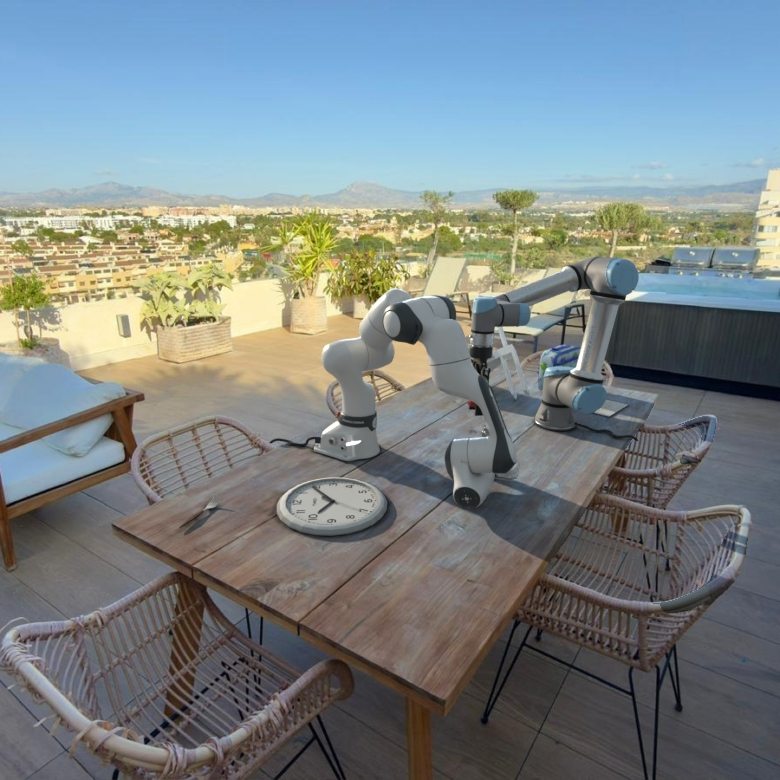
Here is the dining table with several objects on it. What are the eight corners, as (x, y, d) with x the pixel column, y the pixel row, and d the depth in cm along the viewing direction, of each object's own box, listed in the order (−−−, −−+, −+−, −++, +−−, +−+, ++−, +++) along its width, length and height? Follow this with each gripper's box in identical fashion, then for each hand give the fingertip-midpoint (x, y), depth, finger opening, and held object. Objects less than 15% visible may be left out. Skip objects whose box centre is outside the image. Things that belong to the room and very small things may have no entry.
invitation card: (608, 416, 214) (573, 407, 224) (608, 416, 214) (573, 408, 224) (628, 404, 229) (594, 396, 238) (628, 405, 229) (594, 397, 238)
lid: (468, 407, 174) (469, 402, 173) (466, 402, 179) (467, 397, 179) (485, 408, 174) (486, 403, 173) (483, 402, 179) (483, 397, 178)
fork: (174, 529, 130) (174, 521, 130) (216, 499, 144) (215, 492, 144) (183, 531, 129) (182, 524, 129) (223, 501, 144) (223, 494, 143)
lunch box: (554, 397, 237) (559, 352, 231) (533, 392, 244) (538, 348, 238) (581, 386, 255) (586, 344, 248) (560, 381, 262) (565, 340, 256)
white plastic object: (461, 429, 252) (437, 405, 227) (444, 352, 274) (420, 323, 250) (535, 404, 240) (518, 377, 215) (510, 326, 262) (492, 293, 237)
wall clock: (392, 527, 129) (268, 531, 127) (391, 533, 130) (269, 537, 127) (383, 473, 158) (282, 475, 155) (383, 478, 158) (282, 480, 156)
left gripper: (517, 469, 145) (524, 450, 157) (446, 457, 152) (457, 440, 164) (515, 490, 147) (522, 470, 159) (445, 477, 154) (456, 458, 166)
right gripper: (461, 339, 178) (457, 403, 185) (480, 351, 161) (474, 422, 168) (482, 339, 180) (477, 403, 187) (503, 351, 162) (496, 421, 169)
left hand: (489, 454), depth 162 cm, fingers closed on jar, 5 cm apart
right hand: (475, 412), depth 177 cm, fingers closed on lid, 5 cm apart
